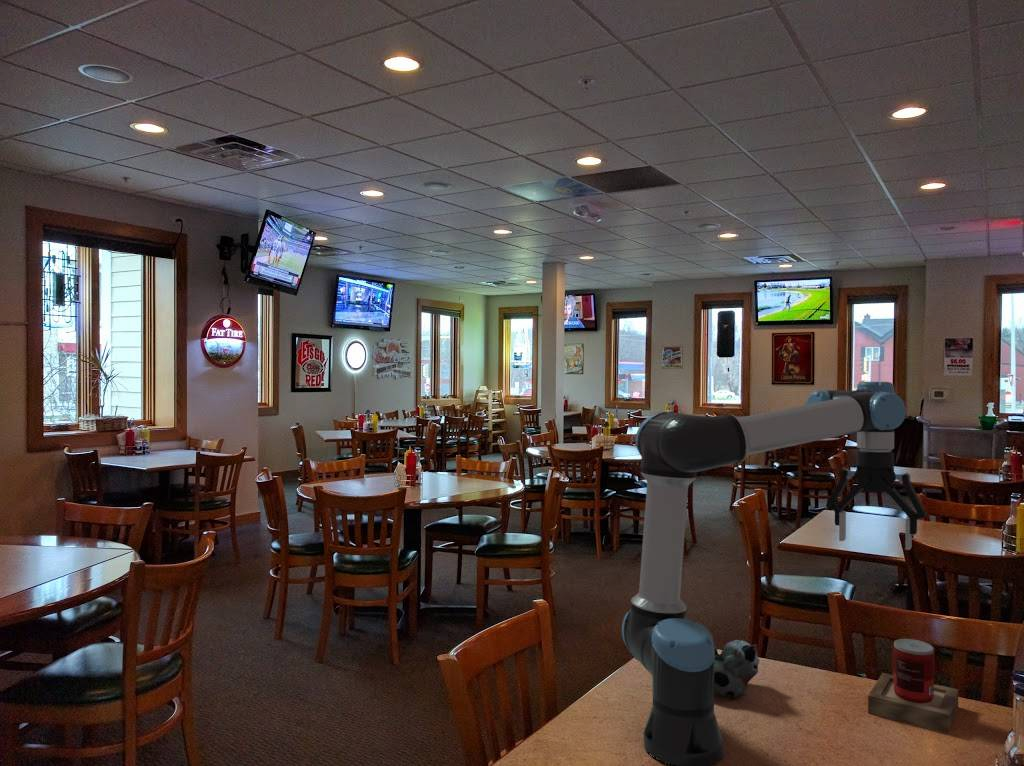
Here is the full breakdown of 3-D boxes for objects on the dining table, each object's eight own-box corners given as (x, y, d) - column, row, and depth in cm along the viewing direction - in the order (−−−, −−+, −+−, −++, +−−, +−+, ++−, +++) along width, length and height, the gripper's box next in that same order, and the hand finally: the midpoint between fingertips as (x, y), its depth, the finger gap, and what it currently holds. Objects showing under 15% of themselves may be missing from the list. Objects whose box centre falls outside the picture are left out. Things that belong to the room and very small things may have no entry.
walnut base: (868, 713, 158) (868, 695, 158) (882, 689, 170) (882, 672, 169) (949, 733, 149) (949, 715, 148) (958, 706, 160) (958, 689, 160)
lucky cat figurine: (700, 672, 179) (728, 622, 179) (745, 703, 173) (774, 651, 173) (683, 675, 167) (712, 621, 167) (730, 709, 160) (761, 653, 160)
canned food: (923, 688, 163) (923, 638, 162) (940, 704, 155) (941, 652, 154) (887, 687, 163) (887, 637, 163) (902, 703, 155) (902, 651, 155)
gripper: (941, 452, 161) (940, 549, 161) (821, 445, 176) (821, 533, 176) (936, 455, 155) (935, 556, 155) (812, 447, 170) (812, 539, 170)
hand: (874, 544), depth 166 cm, fingers open, 13 cm apart
